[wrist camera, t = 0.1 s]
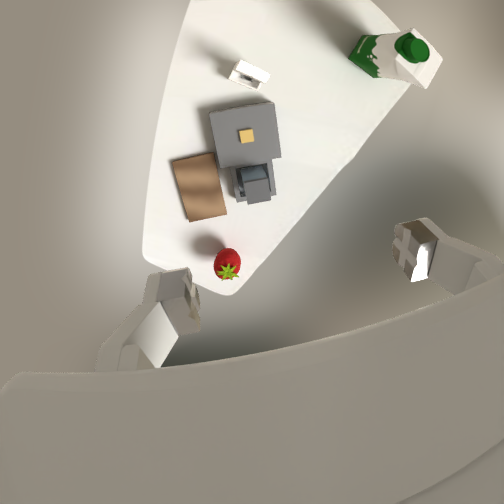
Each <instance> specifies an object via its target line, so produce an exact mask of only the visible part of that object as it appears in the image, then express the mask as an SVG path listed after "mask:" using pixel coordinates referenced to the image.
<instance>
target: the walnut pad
mask: <svg viewBox="0 0 504 504" xmlns="http://www.w3.org/2000/svg"><path fill="white" fill-rule="evenodd" d="M172 164H173V168H174V171H175V175H176V179H177V182H178V186H179V189H180V193H181V196H182V200H183V203H184V206H185V210H186V213H187V216H188V220H189V222H193V221H198V220H203V219H207V218H212V217H217V216H222V215H226V214H227V211H226V207H225V203H224V198H223V194H222V189H221V185H220V180H219V175H218V171H217V166H216V162H215V157H214V152H211V153H206V154H202V155H197V156H193V157H189V158H184V159H180V160H176V161H173V162H172Z"/></svg>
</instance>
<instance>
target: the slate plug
mask: <svg viewBox="0 0 504 504" xmlns="http://www.w3.org/2000/svg"><path fill="white" fill-rule="evenodd" d="M240 171H241V176H242V182H243V187H244V191H245V195H246V199H247V203H248V204H254V203H259V202H264V201H269V200H271V196H270V189H269V182H268V178H267V176H266V174H265V172H264V170H263V168H262V166H261V165H260V166H254V167H249V168H244V169H240Z"/></svg>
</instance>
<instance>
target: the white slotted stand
mask: <svg viewBox="0 0 504 504" xmlns="http://www.w3.org/2000/svg"><path fill="white" fill-rule="evenodd" d="M241 74H243V75H245V76H249V77H250V78H252V79H251V81H249V80H246V79H244V78H241V77H240V76H241ZM269 76H270V74H269V73H267V72H265V71H263V70H261V69H259V68H257V67H255V66H253V65H251V64H249V63H247V62H245V61H243V60H240V61H238V62H237V63H236V64H235V66H234V68H233V70H232V72H231V74H230V76H229V78H228V79H229V80H231V81H234V82H236V83H239V84H241V85H244V86H246V87H248V88H251V89H253V90H255V91H258V90H259V88H260V86H261V85H262V83H266V82H267V80H268V78H269Z"/></svg>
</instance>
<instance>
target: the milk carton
mask: <svg viewBox="0 0 504 504" xmlns="http://www.w3.org/2000/svg"><path fill="white" fill-rule="evenodd" d="M348 59H349V60H351V61H352V62H353V63H355V64H356V65H357V66H359V67H360V68H361V69H363V70H364V71H365V72H367V73H368V74H369V75H370V76H372V77H373V78H389V79H396V80H402V81H406V82H409V83H412V84H415V85H417V86H420V87H423V88H425V89H427V87H428V85H429V84H430V82H431V80H432V78H433V76H434V75H435V72H436V71H437V69H438V67H439V66H440V64H441V62H442V60H443V58H442V57H441V56H440V55H439V54H438V53H437V52H436V51H435V49H434V47H433V46H432V45H431V44H430V43H429V42H428V41H427V40H426V39H425V38H424V37H423V36H422V35H421V34H420V33H419V32H418V31H416V30H415V29H414V28H410V29H407V30H404V31H401V32H399V33H392V34H382V35H363V36H362V37H361V39H360V40H359V42H358V43H357V45H356V47H355V48H354V50H353V51H352V53H351V55H350V56H349V58H348Z"/></svg>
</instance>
